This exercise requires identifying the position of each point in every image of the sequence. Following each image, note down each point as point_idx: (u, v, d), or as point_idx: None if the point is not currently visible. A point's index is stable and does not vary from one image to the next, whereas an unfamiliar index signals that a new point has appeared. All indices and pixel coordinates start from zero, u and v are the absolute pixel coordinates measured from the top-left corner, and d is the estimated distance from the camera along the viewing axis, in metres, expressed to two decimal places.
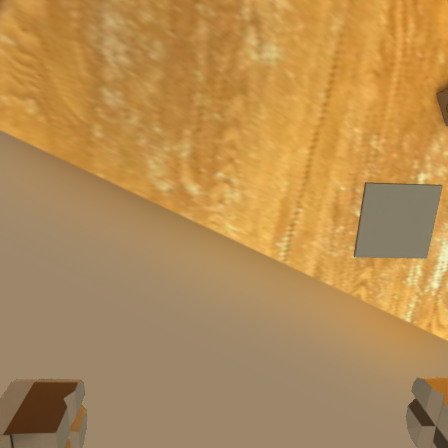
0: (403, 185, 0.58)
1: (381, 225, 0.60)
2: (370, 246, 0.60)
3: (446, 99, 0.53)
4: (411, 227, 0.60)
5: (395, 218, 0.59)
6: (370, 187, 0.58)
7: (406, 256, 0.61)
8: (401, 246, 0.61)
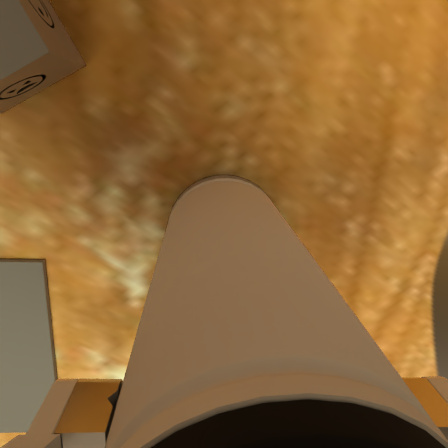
0: None
1: None
2: None
3: None
4: None
5: None
6: None
7: (4, 429, 0.25)
8: None
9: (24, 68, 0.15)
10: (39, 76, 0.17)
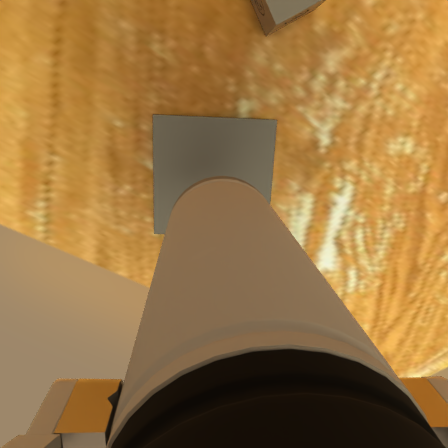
0: (213, 118, 0.37)
1: (188, 183, 0.38)
2: None
3: None
4: None
5: (208, 172, 0.38)
6: (160, 121, 0.36)
7: None
8: None
9: (317, 2, 0.30)
10: (306, 11, 0.33)
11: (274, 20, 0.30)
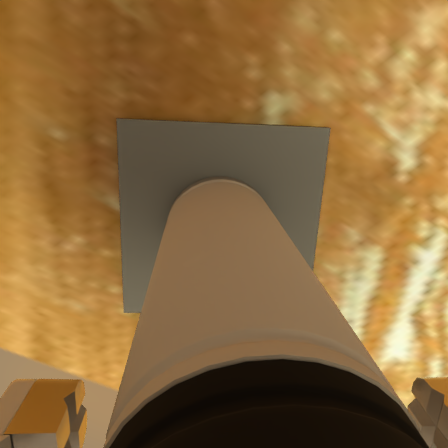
0: (222, 125, 0.21)
1: None
2: None
3: None
4: None
5: None
6: (130, 130, 0.21)
7: None
8: None
9: None
10: None
11: None
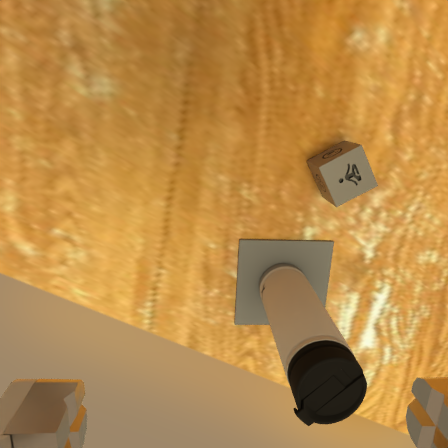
0: (285, 242, 0.48)
1: None
2: (253, 312, 0.50)
3: (314, 170, 0.44)
4: None
5: None
6: (245, 244, 0.47)
7: None
8: None
9: (366, 190, 0.42)
10: None
11: (335, 204, 0.42)
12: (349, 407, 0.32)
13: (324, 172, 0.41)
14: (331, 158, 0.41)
